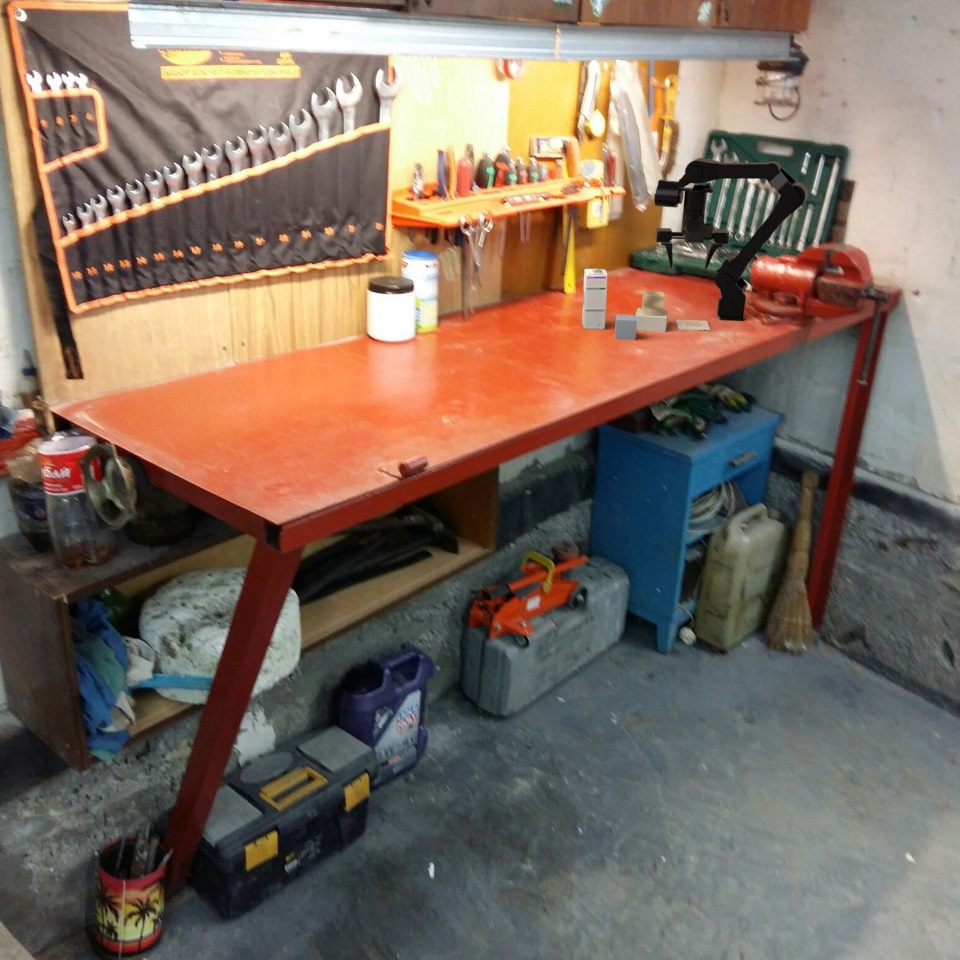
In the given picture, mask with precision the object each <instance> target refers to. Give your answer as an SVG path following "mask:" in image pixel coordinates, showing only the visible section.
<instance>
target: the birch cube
mask: <svg viewBox="0 0 960 960" xmlns="http://www.w3.org/2000/svg"><path fill="white" fill-rule="evenodd" d="M664 306H665V294H664V292H663V291H647V290H643V291H642V302H641V308H642V313H643V315H650V316H663V310H664Z"/></svg>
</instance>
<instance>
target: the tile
mask: <svg viewBox="0 0 960 960" xmlns="http://www.w3.org/2000/svg"><path fill="white" fill-rule="evenodd" d="M675 321H676V325H677V329H678V331H679V330H680V331H698V330H707V331H706V332H711V328H710V326H709V323H708V321H707V320H697V319H696V320H692V319H691V320H690V319H689V320H688V319H676V320H675ZM708 330H709V331H708Z"/></svg>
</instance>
